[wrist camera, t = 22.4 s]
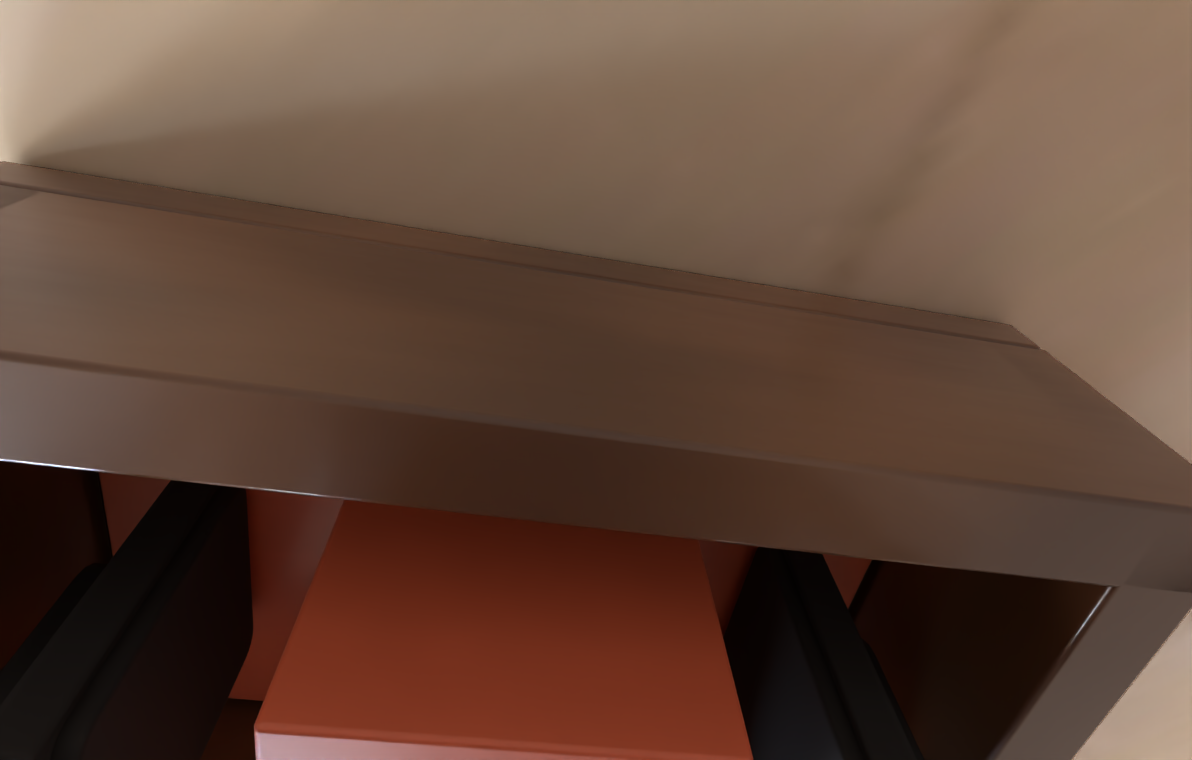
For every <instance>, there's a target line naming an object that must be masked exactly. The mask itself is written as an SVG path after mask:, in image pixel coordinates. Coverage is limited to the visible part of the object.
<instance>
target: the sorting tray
mask: <svg viewBox="0 0 1192 760" xmlns="http://www.w3.org/2000/svg"><path fill="white" fill-rule="evenodd" d="M171 480H174V481H183V482H191V483H200V484H209V485H218V486H227V487H236V488H244V489H246V494H247V512H248V532H249V551H250V570H251V590H252V609H253V636H252V641H251V645H250V649H249V652H248V654H247V657H246V659H245V661H244V663H243V666H242V668H241V670H240V672H239V675H238V677H237V679H236V681H235V683H234V686H233V688H232V690H231V692H230V694H229V697H228V699H227V701H226V703H225V706H224V708H223V710H222V712H221V714H220V717H219V719H218V721H217V723H216V726H215V728H214V730H213V732H212V734H211V737H210V739H209V741H208V743H207V745H206V748H205V750H204V752H203V754H202V757H201V759H200V760H256V754H255V736H254V724H255V721H256V719H257V716H258V714H259V711H260V709H261V706H262V704H263V701H264V699H265V696H266V694H267V691H268V689H269V686H270V684H271V681H272V679H273V676H274V674H275V671H276V669H277V666H278V664H279V661H280V659H281V656H282V654H283V651H284V649H285V646H286V644H287V641H288V639H289V636H290V634H291V631H292V629H293V626H294V624H295V621H296V619H297V616H298V614H299V611H300V609H301V606H302V604H303V601H304V599H305V596H306V594H307V591H308V589H309V586H310V584H311V581H312V579H313V576H314V574H315V571H316V569H317V566H318V564H319V561H320V559H321V556H322V554H323V551H324V549H325V546H326V544H327V541H328V539H329V536H330V534H331V531H332V529H333V526H334V524H335V521H336V519H337V516H338V514H339V511H340V509H341V506H342V504H343V501H344V500H350V501H359V502H368V503H377V504H386V505H395V506H403V507H412V508H421V509H430V510H439V511H448V512H456V513H465V514H474V515H483V516H492V517H501V518H509V519H518V520H527V521H536V522H545V523H554V524H562V525H571V526H580V527H589V528H598V529H607V530H616V531H624V532H633V533H642V534H651V535H660V536H669V537H677V538H686V539H695V540H699V544H700V548H701V552H702V556H703V560H704V564H705V568H706V572H707V576H708V580H709V584H710V588H711V592H712V596H713V600H714V604H715V608H716V612H717V616H718V620H719V624H720V628H721V632H722V636H724V634H725V631H726V628H727V626H728V623H729V621H730V618H731V615H732V613H733V610H734V608H735V605H736V602H737V600H738V597H739V594H740V592H741V589H742V587H743V584H744V581H745V579H746V576H747V573H748V571H749V568H750V566H751V563H752V560H753V558H754V555H755V552H756V550H757V548H758V547H766V548H775V549H783V550H792V551H801V552H810V553H819V554H823V556H824V559H825V561H826V563H827V565H828V567H829V569H830V572H831V574H832V576H833V578H834V580H835V582H836V585H837V587H838V589H839V591H840V593H841V596H842V598H843V600H844V602H845V604H846V606H847V609H848V611H849V613H850V615H851V617H852V619H853V622H854V624H855V626H856V628H857V630H858V633H859V635H860V637H861V638H862V639H863V640H865V641H866V642H867V643H868V644H869V645H870V647H871V648H872V650H873V652H874V653H875V655H876V657H877V659H878V662H879V664H880V666H881V668H882V670H883V672H884V674H885V676H886V679H887V681H888V683H889V685H890V687H891V689H892V691H893V694H894V696H895V698H896V700H897V702H898V704H899V706H900V708H901V711H902V713H903V715H904V717H905V719H906V721H907V723H908V725H909V728H910V730H911V732H912V734H913V736H914V738H915V740H916V743H917V745H918V747H919V749H920V751H921V753H922V755H923V757H924V760H1072V759H1073V758H1074V757H1075V755H1076V754H1077V753H1078V752H1079V750H1080V749H1081V748H1082V747H1083V745H1084V744H1085V743H1086V742H1087V740H1088V739H1089V738H1090V737H1091V735H1092V734H1093V733H1094V731H1095V730H1096V729H1097V728H1098V726H1099V725H1100V724H1101V723H1102V721H1103V720H1104V719H1105V718H1106V716H1107V715H1108V714H1109V713H1110V711H1111V710H1112V709H1113V708H1114V706H1115V705H1116V704H1117V702H1118V701H1119V700H1120V699H1121V697H1122V696H1123V695H1124V694H1125V692H1126V691H1127V690H1128V689H1129V687H1130V686H1131V685H1132V684H1133V682H1134V681H1135V680H1136V679H1137V677H1138V676H1139V675H1140V673H1141V672H1142V671H1143V670H1144V668H1145V667H1146V666H1147V665H1148V663H1149V662H1150V661H1151V660H1152V658H1153V657H1154V656H1155V655H1156V653H1157V652H1158V651H1159V650H1160V648H1161V647H1162V646H1163V644H1164V643H1165V642H1166V641H1167V639H1168V638H1169V637H1170V636H1171V634H1172V633H1173V632H1174V631H1175V629H1176V628H1177V627H1178V626H1179V624H1180V623H1181V622H1182V621H1183V619H1184V618H1185V617H1186V615H1187V614H1188V613H1189V612H1190V610H1191V609H1192V464H1191V463H1189V462H1188V461H1187V460H1186V459H1184V458H1183V457H1182V456H1180V455H1179V454H1178V453H1177V452H1175V451H1174V450H1173V449H1171V448H1170V447H1169V446H1168V445H1166V444H1165V443H1164V442H1162V441H1161V440H1160V439H1159V438H1157V437H1156V436H1155V435H1153V434H1152V433H1151V432H1150V431H1148V430H1147V429H1146V428H1144V427H1143V426H1142V425H1140V424H1139V423H1138V422H1137V421H1135V420H1134V419H1133V418H1131V417H1130V416H1129V415H1128V414H1126V413H1125V412H1124V411H1122V410H1121V409H1120V408H1119V407H1117V406H1116V405H1115V404H1113V403H1112V402H1111V401H1110V400H1108V399H1107V398H1106V397H1104V396H1103V395H1102V394H1100V393H1099V392H1098V391H1097V390H1095V389H1094V388H1093V387H1091V386H1090V385H1089V384H1088V383H1086V382H1085V381H1084V380H1082V379H1081V378H1080V377H1079V376H1077V375H1076V374H1075V373H1073V372H1072V371H1071V370H1070V369H1068V368H1067V367H1066V366H1064V365H1063V364H1062V363H1061V362H1059V361H1058V360H1057V359H1055V358H1054V357H1053V356H1051V355H1050V354H1049V353H1048V352H1046V351H1044V350H1041V349H1040V347H1039V346H1037V345H1036V344H1035V343H1034V342H1032V341H1031V340H1030V339H1028V338H1027V337H1026V336H1025V335H1023V334H1022V333H1021V332H1019V331H1018V330H1017V329H1016V328H1014V327H1013V326H1011V325H1007V324H1001V323H995V322H989V321H983V320H976V319H970V318H964V317H958V316H952V315H946V314H940V313H933V312H927V311H921V310H915V309H909V308H903V307H897V306H890V305H884V304H878V303H872V302H866V301H860V300H853V299H847V298H841V297H835V296H829V295H823V294H817V293H810V292H804V291H798V290H792V289H786V288H780V287H773V286H767V285H761V284H755V283H749V282H743V281H737V280H730V279H724V278H718V277H712V276H706V275H700V274H693V273H687V272H681V271H675V270H669V269H663V268H657V267H650V266H644V265H638V264H632V263H626V262H620V261H613V260H607V259H601V258H595V257H589V256H583V255H577V254H570V253H564V252H558V251H552V250H546V249H540V248H534V247H527V246H521V245H515V244H509V243H503V242H497V241H490V240H484V239H478V238H472V237H466V236H460V235H454V234H447V233H441V232H435V231H429V230H423V229H417V228H410V227H404V226H398V225H392V224H386V223H380V222H374V221H367V220H361V219H355V218H349V217H343V216H337V215H330V214H324V213H318V212H312V211H306V210H300V209H294V208H287V207H281V206H275V205H269V204H263V203H257V202H251V201H244V200H238V199H232V198H226V197H220V196H214V195H207V194H201V193H195V192H189V191H183V190H177V189H171V188H164V187H158V186H152V185H146V184H140V183H134V182H127V181H121V180H115V179H109V178H103V177H97V176H91V175H84V174H78V173H72V172H66V171H60V170H54V169H47V168H41V167H35V166H29V165H23V164H17V163H11V162H0V671H1V670H2V669H3V667H4V666H5V665H6V664H7V662H8V661H9V660H10V659H11V657H12V656H13V655H14V654H15V652H16V651H17V650H18V649H19V647H20V646H21V645H22V643H23V642H24V641H25V640H26V638H27V637H28V636H29V635H30V633H31V632H32V631H33V630H34V628H35V627H36V626H37V625H38V623H39V622H40V621H41V620H42V618H43V617H44V616H45V614H46V613H47V612H48V611H49V609H50V608H51V607H52V606H53V604H54V603H55V602H56V601H57V599H58V598H59V597H60V596H61V594H62V593H63V592H64V591H65V589H66V588H67V587H68V585H69V584H70V583H71V582H72V580H73V579H74V578H75V577H76V576H77V575H78V574H79V573H80V572H81V571H82V570H83V569H84V568H85V567H87V566H89V565H91V564H93V563H102V564H108V563H109V561H110V560H111V559H112V557H113V556H114V555H115V553H116V552H117V551H118V549H119V548H120V547H121V545H122V544H123V543H124V541H125V540H126V539H127V537H128V536H129V535H130V533H131V532H132V531H133V530H134V528H135V527H136V526H137V524H138V523H139V522H140V520H141V519H142V518H143V516H144V515H145V514H146V512H147V511H148V510H149V508H150V507H151V506H152V504H153V503H154V502H155V500H156V499H157V498H158V496H159V495H160V494H161V493H162V491H163V490H164V489H165V487H166V486H167V485H168V483H169V482H170V481H171Z"/></svg>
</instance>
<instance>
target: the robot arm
mask: <svg viewBox="0 0 1192 760" xmlns="http://www.w3.org/2000/svg"><path fill="white" fill-rule="evenodd" d="M252 636H253V609H252V590H251V570H250V551H249V532H248V512H247V494H246V489H244V488H236V487H227V486H218V485H209V484H200V483H191V482H183V481H174V480H171V481H170V482H169V483H168V485H167V486H166V487H165V489H164V490H163V491H162V493H161V494H160V495H159V496H158V498H157V499H156V500H155V502H154V503H153V504H152V506H151V507H150V508H149V510H148V511H147V512H146V514H145V515H144V516H143V518H142V519H141V520H140V522H139V523H138V524H137V526H136V527H135V528H134V530H133V531H132V532H131V533H130V535H129V536H128V537H127V539H126V540H125V541H124V543H123V544H122V545H121V547H120V548H119V549H118V551H117V552H116V553H115V555H114V556H113V557H112V559H111V560H110V561H109V563H108V564H102V563H93V564H91V565H89V566H87V567H85V568H84V569H83V570H82V571H81V572H80V573H79V574H78V575H77V576H76V577H75V578H74V579H73V580H72V582H71V583H70V584H69V585H68V587H67V588H66V589H65V591H64V592H63V593H62V594H61V596H60V597H59V598H58V599H57V601H56V602H55V603H54V604H53V606H52V607H51V608H50V609H49V611H48V612H47V613H46V614H45V616H44V617H43V618H42V620H41V621H40V622H39V623H38V625H37V626H36V627H35V628H34V630H33V631H32V632H31V633H30V635H29V636H28V637H27V638H26V640H25V641H24V642H23V643H22V645H21V646H20V647H19V649H18V650H17V651H16V652H15V654H14V655H13V656H12V657H11V659H10V660H9V661H8V662H7V664H6V665H5V666H4V667H3V669H2V670H1V671H0V760H200V759H201V757H202V754H203V752H204V750H205V748H206V745H207V743H208V741H209V739H210V737H211V734H212V732H213V730H214V728H215V726H216V723H217V721H218V719H219V717H220V714H221V712H222V710H223V708H224V706H225V703H226V701H227V699H228V697H229V694H230V692H231V690H232V688H233V686H234V683H235V681H236V679H237V677H238V675H239V672H240V670H241V668H242V666H243V663H244V661H245V659H246V657H247V654H248V652H249V649H250V645H251V641H252ZM723 640H724V644H725V648H726V652H727V656H728V660H729V664H730V668H731V671H732V675H733V679H734V683H735V687H736V691H737V695H738V699H739V703H740V707H741V711H742V715H743V719H744V723H745V727H746V731H747V735H748V739H749V743H750V747H751V751H752V755H753V760H924V757H923V755H922V753H921V751H920V749H919V747H918V745H917V743H916V740H915V738H914V736H913V734H912V732H911V730H910V728H909V725H908V723H907V721H906V719H905V717H904V715H903V713H902V711H901V708H900V706H899V704H898V702H897V700H896V698H895V696H894V694H893V691H892V689H891V687H890V685H889V683H888V681H887V679H886V676H885V674H884V672H883V670H882V668H881V666H880V664H879V662H878V659H877V657H876V655H875V653H874V652H873V650H872V648H871V647H870V645H869V644H868V643H867V642H866V641H865V640H863V639H862V638H861V637H860V635H859V633H858V630H857V628H856V626H855V624H854V622H853V619H852V617H851V615H850V613H849V611H848V609H847V606H846V604H845V602H844V600H843V598H842V596H841V593H840V591H839V589H838V587H837V585H836V582H835V580H834V578H833V576H832V574H831V572H830V569H829V567H828V565H827V563H826V561H825V559H824V556H823V554H819V553H810V552H801V551H792V550H783V549H775V548H766V547H758V548H757V550H756V552H755V555H754V558H753V560H752V563H751V566H750V568H749V571H748V573H747V576H746V579H745V581H744V584H743V587H742V589H741V592H740V594H739V597H738V600H737V602H736V605H735V608H734V610H733V613H732V615H731V618H730V621H729V623H728V626H727V628H726V631H725V634H724V636H723Z"/></svg>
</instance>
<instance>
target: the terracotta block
mask: <svg viewBox="0 0 1192 760" xmlns="http://www.w3.org/2000/svg"><path fill="white" fill-rule="evenodd" d="M254 736H255V754H256V760H753V755H752V751H751V747H750V743H749V739H748V735H747V731H746V727H745V723H744V719H743V715H742V711H741V707H740V703H739V699H738V695H737V691H736V687H735V683H734V679H733V675H732V671H731V668H730V664H729V660H728V656H727V652H726V648H725V644H724V640H723V636H722V632H721V628H720V624H719V620H718V616H717V612H716V608H715V604H714V600H713V596H712V592H711V588H710V584H709V580H708V576H707V572H706V568H705V564H704V560H703V556H702V552H701V548H700V544H699V540H695V539H686V538H677V537H669V536H660V535H651V534H642V533H633V532H624V531H616V530H607V529H598V528H589V527H580V526H571V525H562V524H554V523H545V522H536V521H527V520H518V519H509V518H501V517H492V516H483V515H474V514H465V513H456V512H448V511H439V510H430V509H421V508H412V507H403V506H395V505H386V504H377V503H368V502H359V501H350V500H344V501H343V504H342V506H341V509H340V511H339V514H338V516H337V519H336V521H335V524H334V526H333V529H332V531H331V534H330V536H329V539H328V541H327V544H326V546H325V549H324V551H323V554H322V556H321V559H320V561H319V564H318V566H317V569H316V571H315V574H314V576H313V579H312V581H311V584H310V586H309V589H308V591H307V594H306V596H305V599H304V601H303V604H302V606H301V609H300V611H299V614H298V616H297V619H296V621H295V624H294V626H293V629H292V631H291V634H290V636H289V639H288V641H287V644H286V646H285V649H284V651H283V654H282V656H281V659H280V661H279V664H278V666H277V669H276V671H275V674H274V676H273V679H272V681H271V684H270V686H269V689H268V691H267V694H266V696H265V699H264V701H263V704H262V706H261V709H260V711H259V714H258V716H257V719H256V721H255V724H254Z"/></svg>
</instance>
